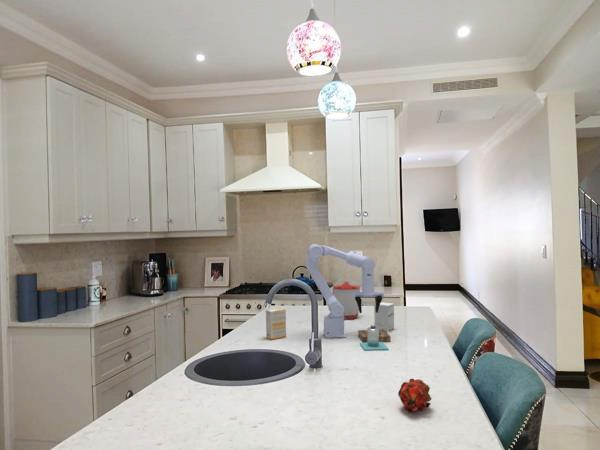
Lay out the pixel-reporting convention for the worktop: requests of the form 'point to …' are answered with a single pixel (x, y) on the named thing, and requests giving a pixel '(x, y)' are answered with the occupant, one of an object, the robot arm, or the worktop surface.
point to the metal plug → (373, 336)
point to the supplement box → (275, 323)
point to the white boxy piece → (384, 316)
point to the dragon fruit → (414, 395)
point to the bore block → (382, 336)
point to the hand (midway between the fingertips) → (368, 312)
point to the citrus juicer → (347, 299)
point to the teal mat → (368, 348)
